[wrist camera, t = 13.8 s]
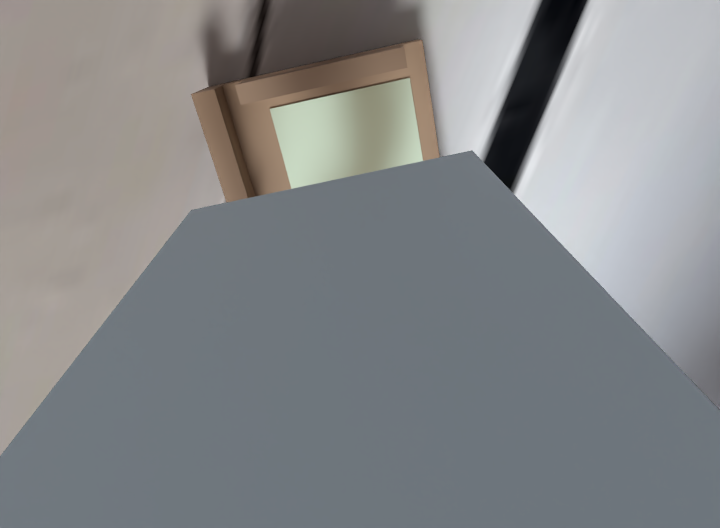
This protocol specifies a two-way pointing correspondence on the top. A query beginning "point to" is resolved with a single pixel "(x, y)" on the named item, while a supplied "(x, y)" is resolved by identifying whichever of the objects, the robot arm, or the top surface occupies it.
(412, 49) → the brown wooden shallow tray
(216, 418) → the blue-grey rectangular block
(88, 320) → the top surface
